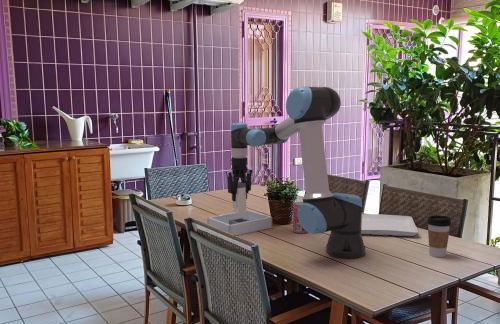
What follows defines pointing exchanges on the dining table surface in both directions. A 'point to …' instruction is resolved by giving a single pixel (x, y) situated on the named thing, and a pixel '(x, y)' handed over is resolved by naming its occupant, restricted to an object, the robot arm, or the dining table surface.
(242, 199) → the pepper shaker
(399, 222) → the square plate
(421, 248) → the dining table surface
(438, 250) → the coffee cup
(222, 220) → the box
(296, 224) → the soda can
